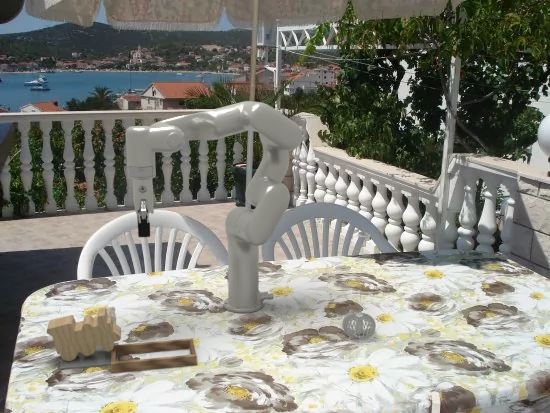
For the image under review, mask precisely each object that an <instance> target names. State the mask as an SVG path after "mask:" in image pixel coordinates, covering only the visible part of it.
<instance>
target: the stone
mask: <svg viewBox="0 0 550 413" xmlns="http://www.w3.org/2000/svg"><path fill="white" fill-rule="evenodd" d="M106 311H107V314H108V315H109V314H111V316H112V319H113V323H115V324H116V325H117V314H116V307H115V306H111V307H109V306H108V307H106ZM97 317H98V313H97V314H96V315H95V316H94V317H93V318H97Z"/></svg>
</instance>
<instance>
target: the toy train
mask: <svg viewBox="0 0 550 413" xmlns="http://www.w3.org/2000/svg"><path fill="white" fill-rule="evenodd" d="M106 309H107V307H105V306H103V307H99V308H98V310H97V312H98V313H97V314H98V317H97V318H94V317H93V316H92V315H89V314H86V315H85V316H84V317H83V320H81V321H78V322H76V318H75V316H74V315H72V314H70V315H66V316H62V317H57V318H52V319H50V320H49V321H48V325H47V327H46V328H47V329H46V334H48V335H49V336H51V337H52V339H53V344H54V347H55V351H56V354H58V355H60V357H61V359H62V358H63V360H66V361H72V360H74V359H75V358H76V356H77V354H78V350H79V351H80V352H81V353H82V354H84V355H85V356H89V355H92V354H94V352H95V349H96V346H98V345H101V346H102V349H104V350H105V351H111V350H113V348H114V343H117V342H118V341H121V340H122V328H121V326H120V325H118V324H117V323H116V324H115V323H113V319H112V316H111V314H109V315H108V314H107V311H106Z"/></svg>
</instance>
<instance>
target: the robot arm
mask: <svg viewBox="0 0 550 413" xmlns="http://www.w3.org/2000/svg"><path fill="white" fill-rule="evenodd" d="M247 131H251V132H256V133H258V134H259V135H258V136H259V140H260V142H261V146H262V153H263V154H262V157H261V161H260V163H259V166H258V168H257V169H256V171H255V173H254V174H253V177H252V178H251V180H250V181H249V183H248V185H247V187H246V190H245V199H246V201H247V202H248V203H249V204H250V205H252V206H253V207H255V208H254V209H252V208H249V207H246V206H237V207H234V208H232V209H231V210H230V211H229V212H228V213H227V215H226V218H225V222H224V224H225V226H224V227H225V235H226V240H227V256H228V257H227V261H228V262H227V264H228V265H227V266H228V267H227V276H228V277H227V283H228V285H227V287H228V291H227V292H228V294H227V295H228V296H227V298H225V299H224V301H223V307H224V308H225V310H227V311H230V312H233V313H239V314H241V313H242V314H246V313H254V312H256V311H257V312H258V311H259V310H261V309H262V308H263V307H264V301H265V300H268V301H269V300H275V298H274V296H275V294H274V293H273V292H272V293H269V291H260V289H259V287H260V286H259V282H260V278H259V277H260V276H259V275H260V249H259V247H260V246H262V245H264V244H266V243H268V241H270V239H272V237H273V235H274V234H275V233H276V232H275V231H276V230H277V229H278V227H279V224H280V222H281V221H282V219H283V217H284V215H285V213H286V212H287V210H288V208H289V204H290V200H291V194H290V190H289V188H288V187H287V186H286V185H285V184H284V183H282V182H283V181H284V178H285V176H286V174H287V172H288V169H289V164H290V154H289V151H294V150H296V149H297V148H299V147H300V145H301V144H302V142H303V138H304V136H303V130H302V128H301V127H300V126H299V124H297V122H295V121H294V120H292V119H290V118H289V117H287V116H285V115H284V114H283V113H282V112H280V111H278V110H276V108H274V107H272V105H271V106H270V105H269V104H267V103H265V102H261V101H260V102H259V101H253V100H245V101H241V102H237V103H233V104H228V105H226V106H222V107H217V108H214V109H210V110H205V111H199V112H195V113H191V114H186V115H180V116H175V117H171V118H168V119H164V120H160V121H156V122H154V123H153V124H151V125H150V126H148V125H135V126H134V125H133V126H132V125H131V126H128V127H127V128H126V131H125V142H126V144H125V146H126V165H127V166H126V169H127V178H128V179H131V181H132V195H133V205H134V210H135V211H134V212H135V214H136V217H137V235H138V236H137V237H138V238H151V221H150V214H151V215H153V214H154V211H155V210H154V207H155V206H154V186H153V184H154V183H153V179H154V178H156V176H157V173H156V153H167V154H168V153H169V154H171V153H172V154H173V153H174V154H175V153H177V152H180V150H182V149H183V147H184V146H185V144H186V142H190V141H215V140H220V139H223V138H226V137H229V136H233V135H234V136H235V135H236V134H241V133H244V132H247Z"/></svg>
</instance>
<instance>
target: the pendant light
mask: <svg viewBox="0 0 550 413" xmlns="http://www.w3.org/2000/svg"><path fill="white" fill-rule="evenodd" d="M356 236H357V237H358V238H360V239H367V238H370V236H371V234H369V232H368V231H358V233H356ZM361 248H362V249H361V250H362V251H361V255H363V253H364V252H363V251H364V249H363V248H364V245H362V247H361ZM360 269H361V272H360V277H362V271H363V267H361V268H360ZM361 290H362V289H360V294H359V297H360V298H359V300H361V297H362V296H361V294H362V291H361ZM376 326H377V325H376V321H375V320H374V318H373V317H372V316H371V315H370V314H368V313H365V312H361V311H359V312H351V313H348V314H347V315H346V316H345V317H344V318H343V320H342V330H343V332H344V333H345V334H346V335H347V336H348V337H350V338H352V339H361V340H363V339H364V340H365V339H369V338H371V336H373V334H374V333H375V331H376ZM365 328H366V329H365ZM357 334H359V335H357ZM361 334H362V335H361Z"/></svg>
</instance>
